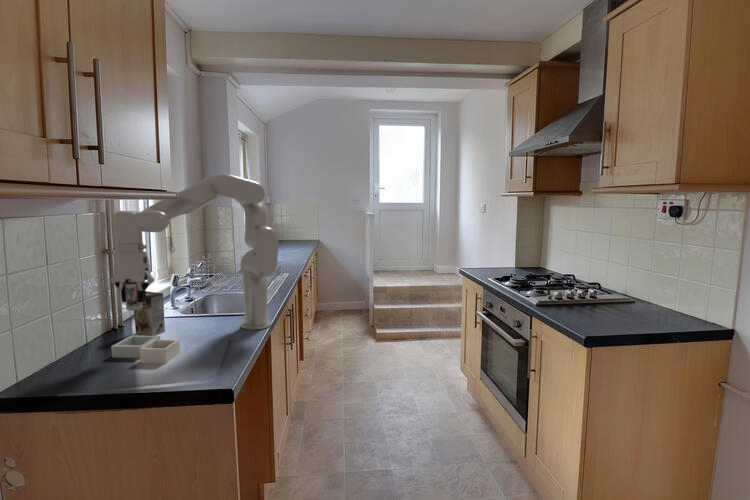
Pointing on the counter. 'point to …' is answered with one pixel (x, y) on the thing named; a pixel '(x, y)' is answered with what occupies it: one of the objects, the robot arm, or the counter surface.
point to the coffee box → (150, 315)
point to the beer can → (131, 295)
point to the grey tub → (131, 346)
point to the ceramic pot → (159, 351)
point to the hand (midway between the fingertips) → (133, 300)
